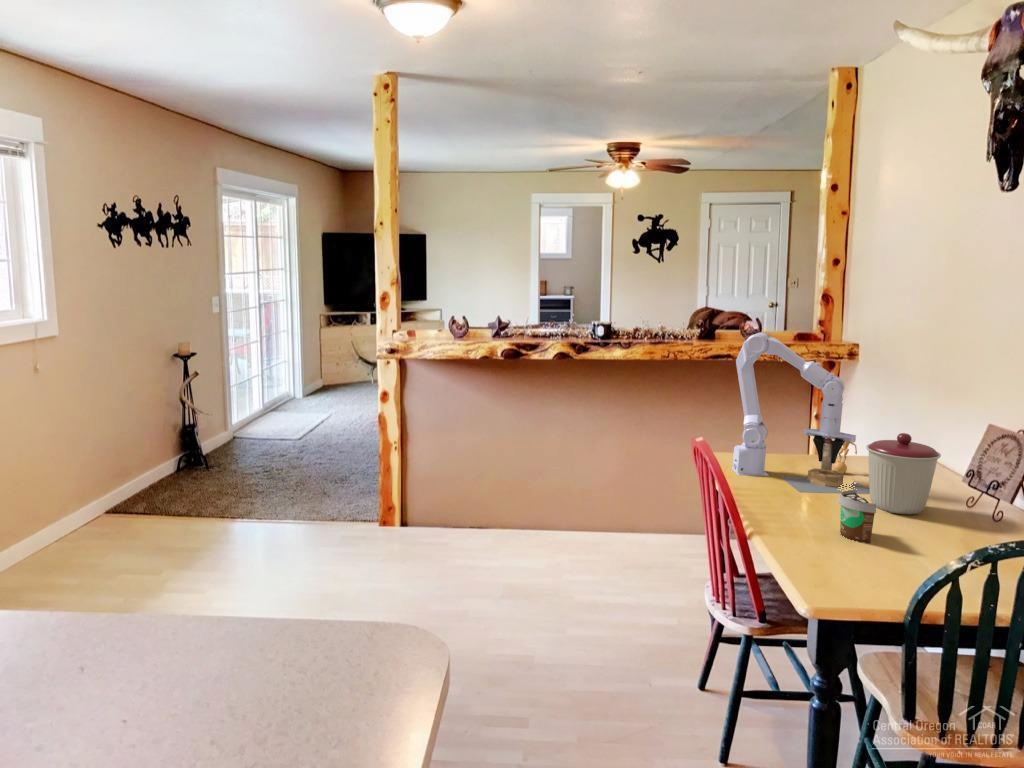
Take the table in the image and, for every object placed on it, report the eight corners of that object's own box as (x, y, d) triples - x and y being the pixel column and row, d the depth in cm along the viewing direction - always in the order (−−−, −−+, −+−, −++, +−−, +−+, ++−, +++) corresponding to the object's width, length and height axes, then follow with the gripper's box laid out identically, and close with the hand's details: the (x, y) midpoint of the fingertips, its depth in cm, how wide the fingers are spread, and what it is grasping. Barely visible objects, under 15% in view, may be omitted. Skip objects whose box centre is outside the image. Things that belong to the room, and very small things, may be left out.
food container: (827, 527, 198) (830, 488, 197) (852, 528, 198) (855, 489, 197) (846, 544, 186) (850, 503, 185) (872, 545, 186) (876, 504, 184)
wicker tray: (815, 486, 234) (816, 476, 234) (804, 477, 243) (805, 468, 243) (846, 486, 234) (847, 477, 234) (833, 478, 243) (834, 469, 243)
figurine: (823, 472, 252) (827, 435, 250) (832, 469, 256) (836, 433, 254) (849, 478, 246) (853, 440, 244) (858, 475, 250) (861, 438, 248)
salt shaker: (823, 470, 236) (825, 439, 235) (819, 467, 239) (821, 436, 238) (833, 470, 236) (835, 439, 235) (829, 467, 239) (831, 436, 238)
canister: (868, 495, 228) (875, 423, 224) (938, 507, 217) (947, 432, 214) (853, 510, 213) (861, 433, 210) (928, 524, 203) (937, 444, 199)
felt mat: (799, 493, 227) (799, 492, 227) (779, 477, 244) (779, 476, 244) (875, 495, 227) (875, 494, 227) (849, 479, 244) (850, 478, 244)
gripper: (802, 416, 237) (798, 460, 239) (853, 423, 228) (849, 468, 230) (809, 413, 242) (805, 456, 244) (859, 419, 234) (855, 464, 236)
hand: (827, 462), depth 238 cm, fingers closed on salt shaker, 3 cm apart
